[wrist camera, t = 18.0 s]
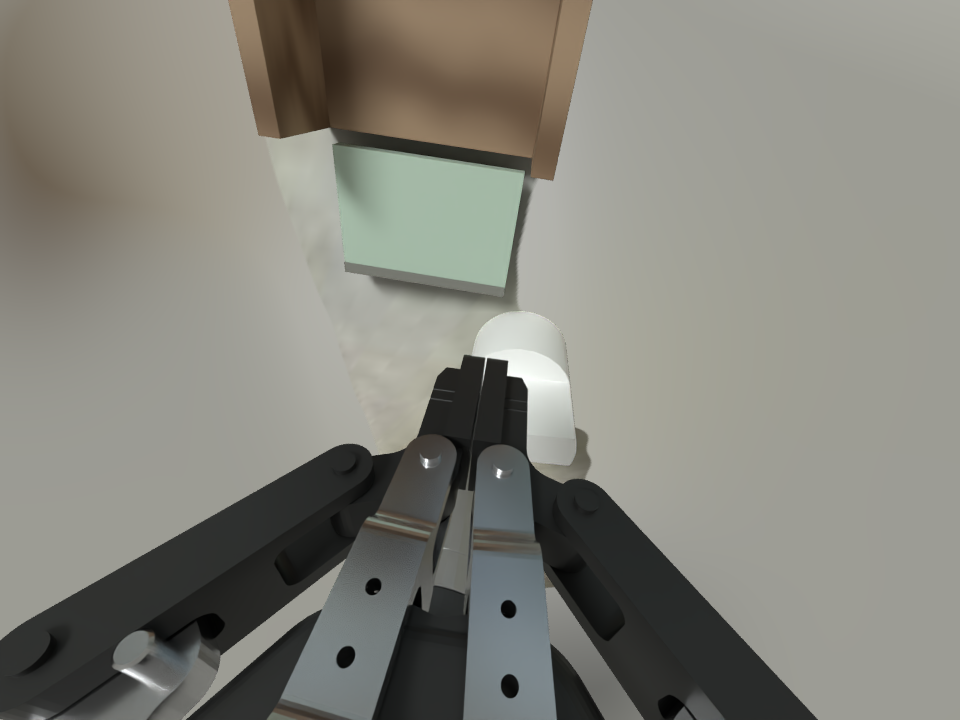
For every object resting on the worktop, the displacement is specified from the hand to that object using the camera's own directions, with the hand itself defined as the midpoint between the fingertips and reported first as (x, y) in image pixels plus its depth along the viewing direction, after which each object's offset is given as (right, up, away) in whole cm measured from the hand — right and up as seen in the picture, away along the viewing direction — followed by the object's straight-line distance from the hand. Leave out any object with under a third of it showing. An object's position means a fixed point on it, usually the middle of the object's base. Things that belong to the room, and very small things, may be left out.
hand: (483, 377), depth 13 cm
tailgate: (-4, +14, +12) cm, 19 cm away
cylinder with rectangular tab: (+4, +2, +24) cm, 24 cm away
